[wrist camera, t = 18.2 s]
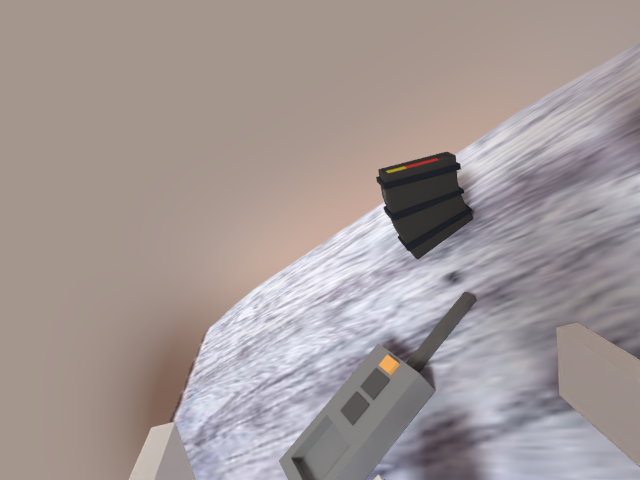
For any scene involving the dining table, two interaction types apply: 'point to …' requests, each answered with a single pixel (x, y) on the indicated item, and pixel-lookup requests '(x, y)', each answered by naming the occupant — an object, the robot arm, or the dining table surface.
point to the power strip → (368, 411)
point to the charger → (379, 478)
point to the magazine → (424, 201)
